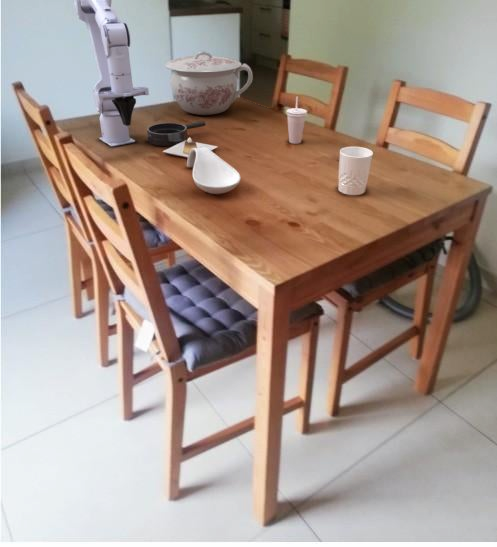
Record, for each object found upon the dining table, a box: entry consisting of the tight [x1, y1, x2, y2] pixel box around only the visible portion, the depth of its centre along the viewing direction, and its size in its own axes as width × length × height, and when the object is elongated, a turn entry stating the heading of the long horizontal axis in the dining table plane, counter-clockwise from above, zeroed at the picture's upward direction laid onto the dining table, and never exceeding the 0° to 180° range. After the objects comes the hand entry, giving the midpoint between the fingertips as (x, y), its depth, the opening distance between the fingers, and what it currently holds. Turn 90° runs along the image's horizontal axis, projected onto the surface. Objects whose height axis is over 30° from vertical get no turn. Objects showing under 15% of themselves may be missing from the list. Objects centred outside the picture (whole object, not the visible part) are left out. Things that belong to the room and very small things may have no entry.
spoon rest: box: [186, 147, 241, 195], centre depth 127 cm, size 24×12×7 cm, turn 24°
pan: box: [146, 122, 188, 147], centre depth 156 cm, size 12×12×4 cm
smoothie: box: [286, 95, 308, 145], centre depth 153 cm, size 6×6×14 cm
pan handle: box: [184, 120, 206, 130], centre depth 160 cm, size 2×8×2 cm, turn 127°
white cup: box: [337, 146, 374, 196], centre depth 122 cm, size 8×8×10 cm
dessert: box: [162, 136, 219, 159], centre depth 146 cm, size 12×12×5 cm
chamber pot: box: [164, 50, 254, 116], centre depth 181 cm, size 28×28×21 cm
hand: (126, 124), depth 139 cm, fingers closed
